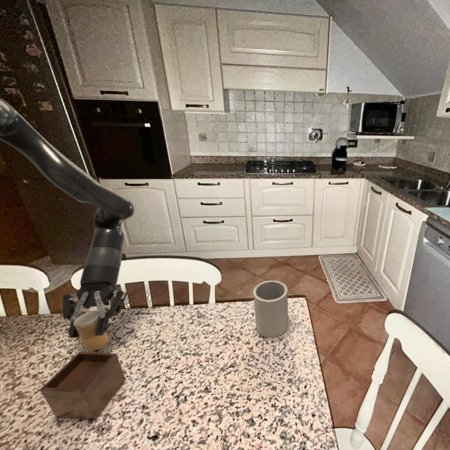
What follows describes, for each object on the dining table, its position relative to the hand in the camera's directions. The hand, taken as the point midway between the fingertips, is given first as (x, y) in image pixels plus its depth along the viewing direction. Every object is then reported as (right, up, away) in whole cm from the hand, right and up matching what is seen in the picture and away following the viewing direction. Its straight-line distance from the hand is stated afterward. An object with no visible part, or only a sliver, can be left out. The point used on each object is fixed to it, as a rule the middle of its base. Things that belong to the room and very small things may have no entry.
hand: (86, 336), depth 58 cm
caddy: (+8, -9, -7) cm, 14 cm away
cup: (+43, -2, +12) cm, 45 cm away
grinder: (0, -3, +3) cm, 4 cm away
